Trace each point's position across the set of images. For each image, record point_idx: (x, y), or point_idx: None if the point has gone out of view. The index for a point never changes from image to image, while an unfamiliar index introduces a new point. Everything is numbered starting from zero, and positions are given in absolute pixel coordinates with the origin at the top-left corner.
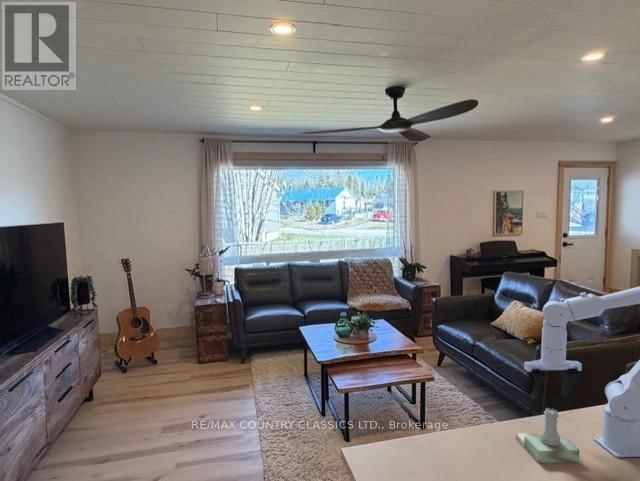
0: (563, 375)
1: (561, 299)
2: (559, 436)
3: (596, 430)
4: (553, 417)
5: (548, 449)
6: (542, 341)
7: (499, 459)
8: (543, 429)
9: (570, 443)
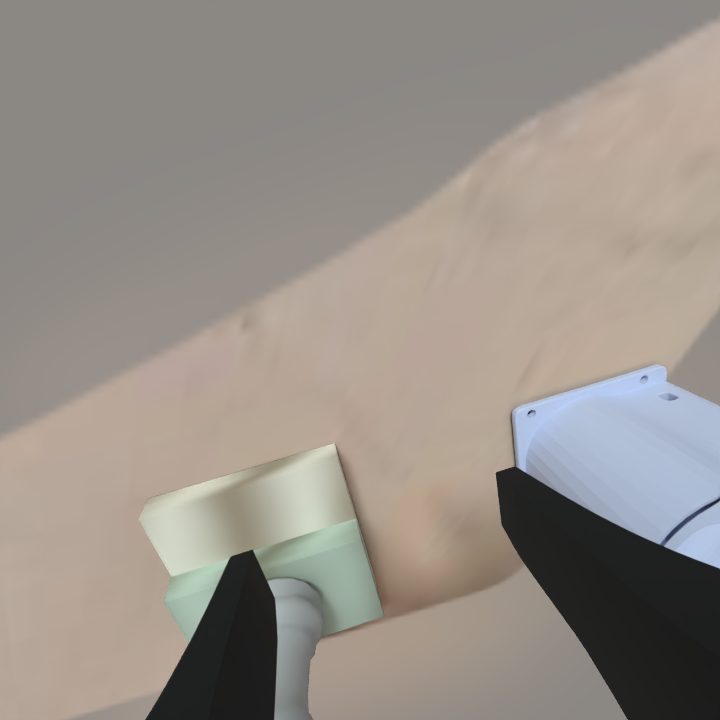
0: (662, 662)
1: None
2: (318, 638)
3: (571, 321)
4: None
5: None
6: None
7: (63, 649)
8: None
9: (367, 586)
